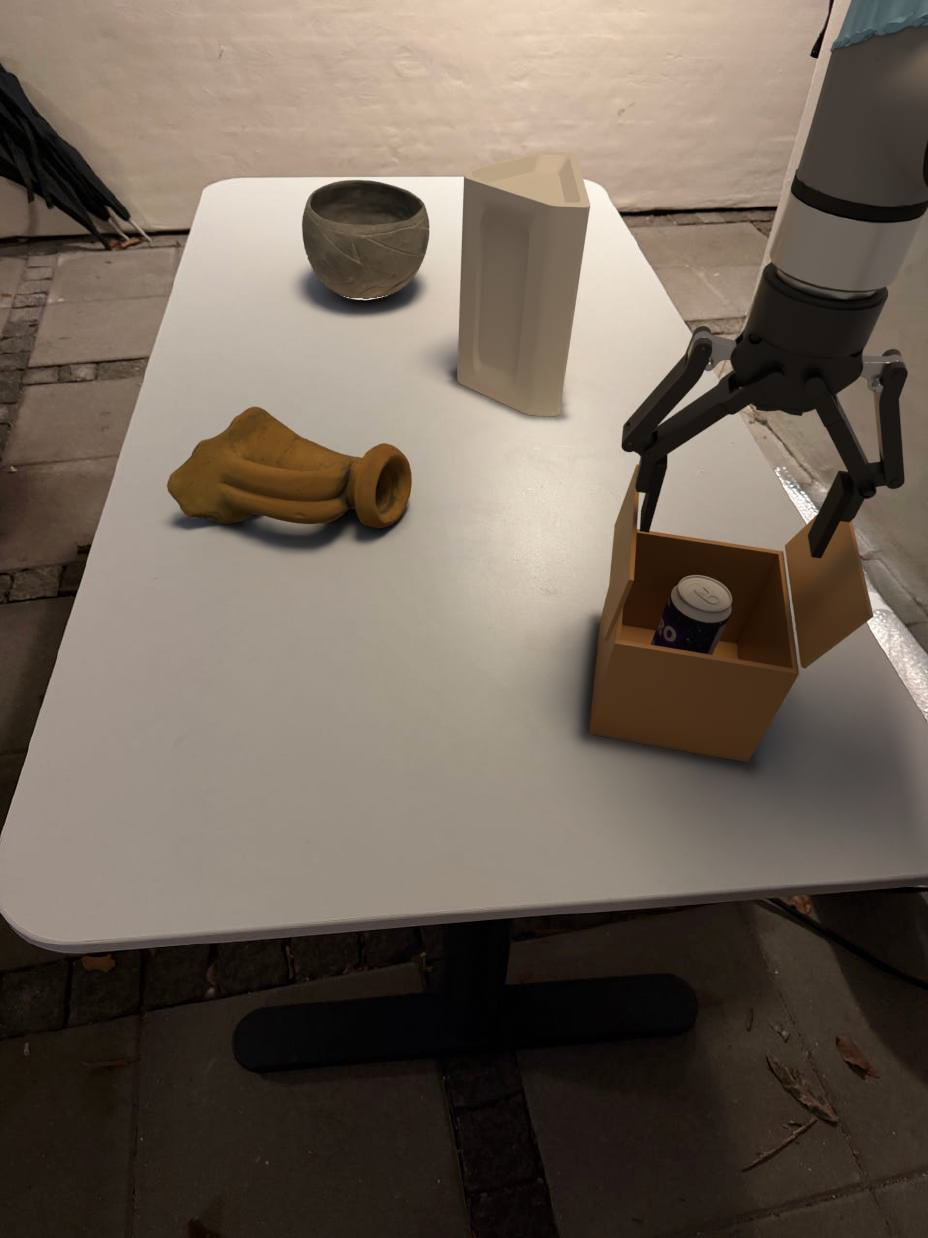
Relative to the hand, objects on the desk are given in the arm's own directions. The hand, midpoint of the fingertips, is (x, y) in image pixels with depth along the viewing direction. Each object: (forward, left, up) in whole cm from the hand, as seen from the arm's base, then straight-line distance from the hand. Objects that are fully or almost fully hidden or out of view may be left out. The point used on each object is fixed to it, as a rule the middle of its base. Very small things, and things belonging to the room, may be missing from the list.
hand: (728, 534), depth 63 cm
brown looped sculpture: (+45, -17, -21) cm, 52 cm away
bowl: (+53, -76, -21) cm, 95 cm away
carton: (0, 0, -21) cm, 21 cm away
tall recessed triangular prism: (+25, -54, -21) cm, 63 cm away
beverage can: (0, 0, -20) cm, 20 cm away
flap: (-9, 0, -3) cm, 9 cm away
